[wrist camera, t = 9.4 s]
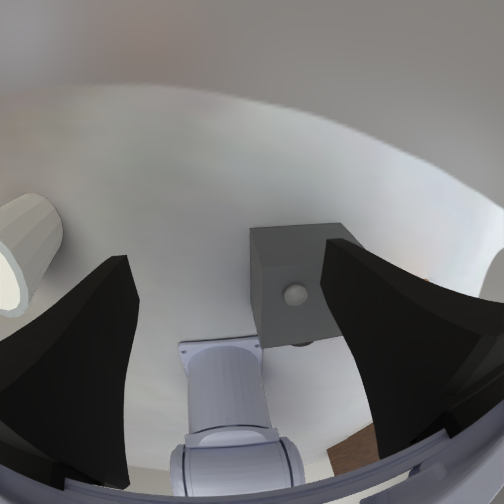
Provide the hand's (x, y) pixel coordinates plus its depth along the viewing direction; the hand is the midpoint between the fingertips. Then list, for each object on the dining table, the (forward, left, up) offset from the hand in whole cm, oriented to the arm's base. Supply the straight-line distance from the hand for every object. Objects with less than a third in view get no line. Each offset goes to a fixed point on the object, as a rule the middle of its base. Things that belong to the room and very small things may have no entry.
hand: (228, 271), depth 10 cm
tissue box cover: (-66, -35, -10) cm, 75 cm away
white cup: (-1, +15, -10) cm, 18 cm away
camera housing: (-6, -6, -9) cm, 13 cm away
